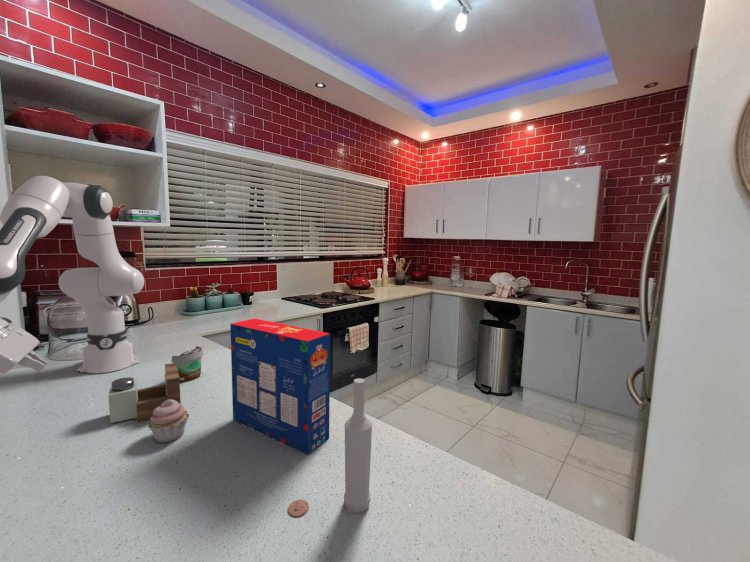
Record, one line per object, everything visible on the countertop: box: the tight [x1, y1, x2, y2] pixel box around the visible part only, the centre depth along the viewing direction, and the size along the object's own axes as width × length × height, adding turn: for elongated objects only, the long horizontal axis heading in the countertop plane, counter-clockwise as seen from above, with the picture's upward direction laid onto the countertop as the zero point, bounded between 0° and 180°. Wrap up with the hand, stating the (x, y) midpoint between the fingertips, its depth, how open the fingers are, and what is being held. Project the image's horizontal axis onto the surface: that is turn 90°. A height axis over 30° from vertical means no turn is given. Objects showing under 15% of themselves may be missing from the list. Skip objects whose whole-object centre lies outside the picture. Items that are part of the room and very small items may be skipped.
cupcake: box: [146, 399, 190, 444], centre depth 84 cm, size 9×9×10 cm
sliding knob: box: [107, 376, 138, 424], centre depth 94 cm, size 7×6×10 cm
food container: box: [171, 345, 205, 383], centre depth 121 cm, size 12×6×10 cm, turn 168°
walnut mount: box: [133, 362, 182, 423], centre depth 98 cm, size 14×11×11 cm
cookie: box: [287, 499, 310, 518], centre depth 63 cm, size 4×4×1 cm
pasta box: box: [230, 317, 331, 456], centre depth 88 cm, size 28×8×28 cm, turn 59°
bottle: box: [343, 377, 373, 514], centre depth 63 cm, size 5×5×25 cm
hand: (44, 367), depth 83 cm, fingers closed
